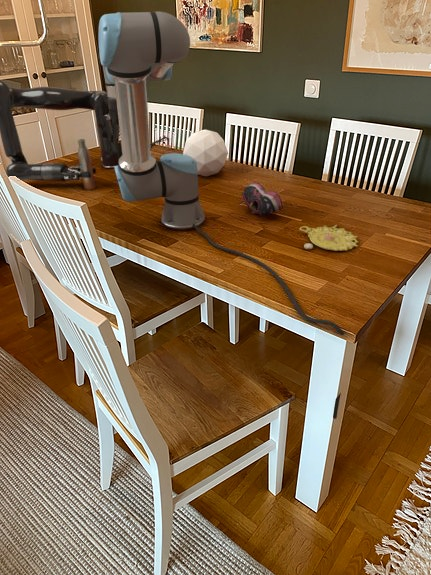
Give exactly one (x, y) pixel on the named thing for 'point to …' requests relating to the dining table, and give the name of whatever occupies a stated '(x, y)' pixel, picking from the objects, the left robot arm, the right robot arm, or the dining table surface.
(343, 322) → the dining table surface
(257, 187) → the athletic shoe
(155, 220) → the dining table surface
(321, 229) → the decorative object
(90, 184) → the bottle
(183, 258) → the dining table surface
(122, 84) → the right robot arm
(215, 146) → the sphere
